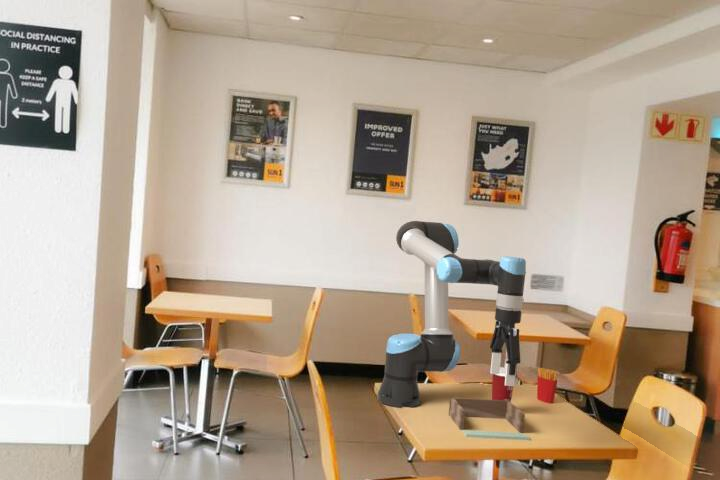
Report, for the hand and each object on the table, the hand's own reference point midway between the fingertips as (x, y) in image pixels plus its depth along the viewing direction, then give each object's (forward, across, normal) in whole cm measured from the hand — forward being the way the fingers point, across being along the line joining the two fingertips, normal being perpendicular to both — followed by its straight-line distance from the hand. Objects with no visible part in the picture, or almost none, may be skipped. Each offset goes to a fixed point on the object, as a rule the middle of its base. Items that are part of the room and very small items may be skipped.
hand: (501, 379), depth 183 cm
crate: (+19, +12, 0) cm, 22 cm away
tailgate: (+17, +4, 0) cm, 18 cm away
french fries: (+19, +46, -35) cm, 61 cm away
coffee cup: (+19, +28, -11) cm, 36 cm away
